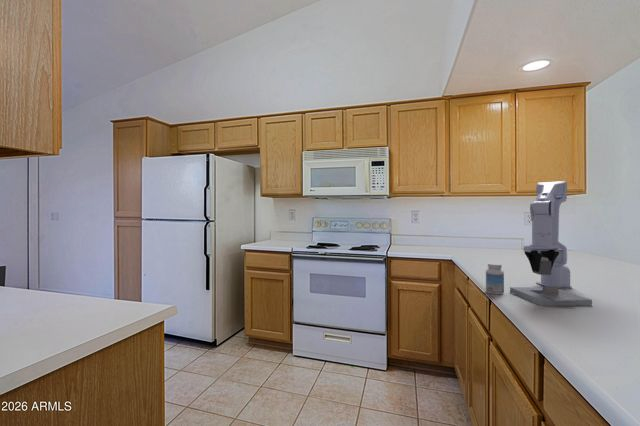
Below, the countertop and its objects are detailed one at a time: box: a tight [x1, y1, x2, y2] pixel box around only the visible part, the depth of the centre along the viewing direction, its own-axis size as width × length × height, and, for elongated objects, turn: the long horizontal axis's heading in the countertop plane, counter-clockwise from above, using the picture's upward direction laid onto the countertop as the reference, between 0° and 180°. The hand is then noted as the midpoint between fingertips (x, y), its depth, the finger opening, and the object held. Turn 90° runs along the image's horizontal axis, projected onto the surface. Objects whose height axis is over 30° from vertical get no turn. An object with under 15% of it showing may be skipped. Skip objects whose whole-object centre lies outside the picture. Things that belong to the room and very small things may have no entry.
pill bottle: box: [485, 262, 505, 295], centre depth 114 cm, size 6×6×11 cm
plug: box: [532, 257, 551, 276], centre depth 106 cm, size 4×4×6 cm
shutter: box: [541, 285, 575, 301], centre depth 100 cm, size 6×6×3 cm
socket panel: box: [509, 286, 593, 307], centre depth 106 cm, size 17×16×2 cm
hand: (541, 270), depth 107 cm, fingers closed on plug, 5 cm apart
